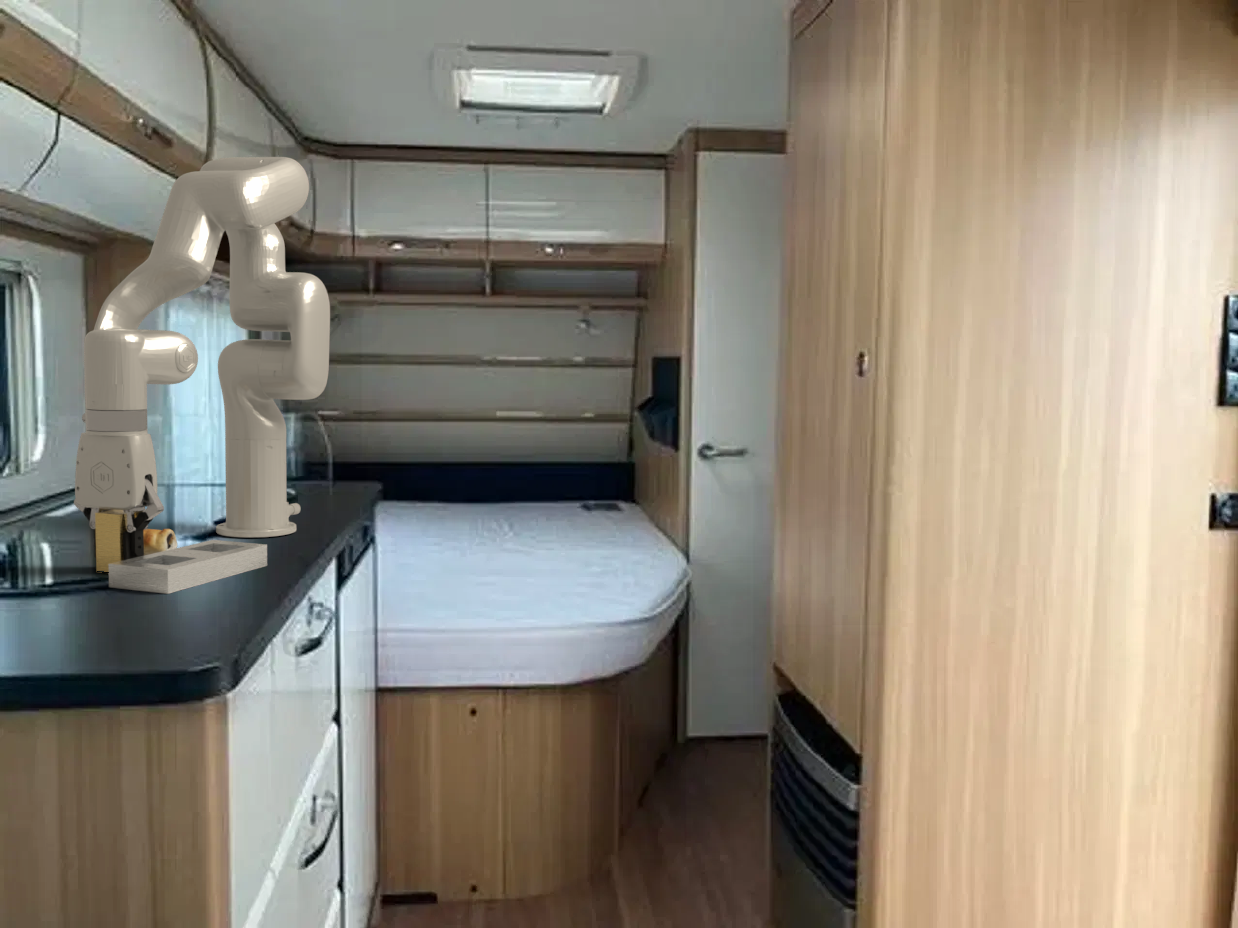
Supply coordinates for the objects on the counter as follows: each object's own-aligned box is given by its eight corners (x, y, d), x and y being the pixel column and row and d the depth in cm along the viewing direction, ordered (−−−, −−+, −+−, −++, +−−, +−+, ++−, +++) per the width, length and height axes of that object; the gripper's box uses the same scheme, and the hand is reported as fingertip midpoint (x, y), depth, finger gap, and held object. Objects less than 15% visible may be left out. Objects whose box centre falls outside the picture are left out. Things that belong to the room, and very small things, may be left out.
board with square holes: (213, 560, 158) (213, 539, 158) (267, 565, 155) (267, 544, 155) (108, 587, 139) (108, 563, 139) (168, 593, 136) (167, 569, 136)
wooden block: (118, 566, 152) (117, 508, 151) (142, 569, 151) (141, 510, 150) (96, 571, 148) (95, 512, 147) (120, 574, 147) (119, 514, 146)
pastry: (99, 557, 160) (98, 531, 159) (116, 549, 166) (116, 524, 166) (166, 558, 160) (165, 532, 160) (180, 550, 167) (180, 525, 167)
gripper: (44, 421, 147) (48, 558, 148) (148, 427, 141) (150, 568, 143) (87, 419, 154) (90, 549, 156) (188, 424, 149) (189, 558, 150)
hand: (119, 557), depth 149 cm, fingers closed on wooden block, 4 cm apart
